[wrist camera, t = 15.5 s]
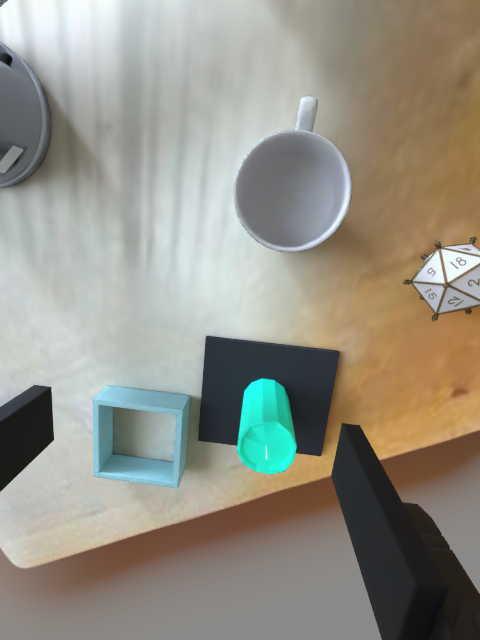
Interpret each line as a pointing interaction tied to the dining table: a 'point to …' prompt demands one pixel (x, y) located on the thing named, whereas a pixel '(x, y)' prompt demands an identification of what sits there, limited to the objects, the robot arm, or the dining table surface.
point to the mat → (275, 364)
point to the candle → (266, 428)
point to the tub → (134, 466)
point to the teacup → (293, 187)
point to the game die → (449, 278)
